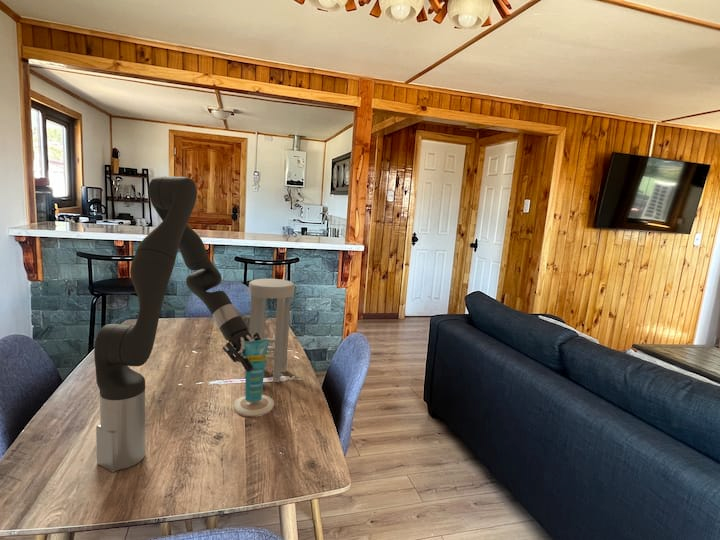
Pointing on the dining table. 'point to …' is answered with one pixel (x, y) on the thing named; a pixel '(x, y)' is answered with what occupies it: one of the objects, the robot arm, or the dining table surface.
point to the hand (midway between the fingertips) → (257, 367)
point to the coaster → (253, 406)
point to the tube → (255, 368)
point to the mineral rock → (246, 321)
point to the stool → (283, 293)
